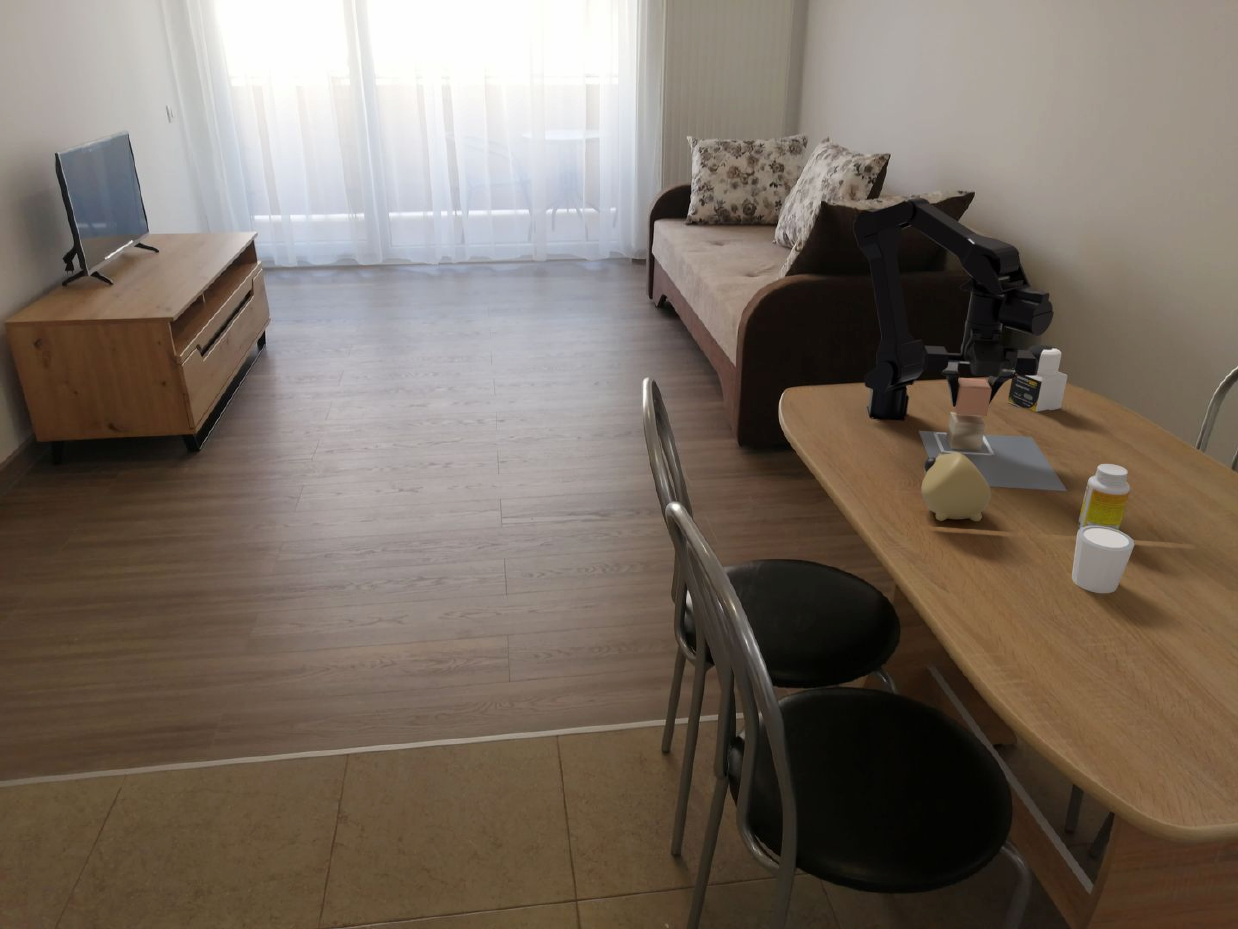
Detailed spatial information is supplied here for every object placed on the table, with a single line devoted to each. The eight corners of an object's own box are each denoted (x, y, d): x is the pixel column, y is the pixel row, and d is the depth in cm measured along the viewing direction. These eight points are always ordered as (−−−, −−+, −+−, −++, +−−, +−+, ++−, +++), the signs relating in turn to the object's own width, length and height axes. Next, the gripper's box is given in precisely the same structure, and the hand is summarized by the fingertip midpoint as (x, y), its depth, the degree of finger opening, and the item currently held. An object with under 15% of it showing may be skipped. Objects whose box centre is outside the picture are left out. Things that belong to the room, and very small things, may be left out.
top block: (956, 414, 163) (961, 387, 160) (951, 404, 167) (955, 377, 165) (986, 416, 162) (991, 389, 160) (980, 405, 166) (985, 379, 164)
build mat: (938, 486, 153) (939, 482, 153) (918, 433, 173) (918, 430, 172) (1066, 494, 151) (1067, 490, 150) (1031, 440, 170) (1031, 436, 170)
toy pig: (972, 498, 149) (983, 437, 145) (993, 535, 138) (1006, 471, 134) (909, 496, 150) (918, 435, 145) (925, 532, 139) (935, 468, 135)
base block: (951, 448, 165) (955, 422, 163) (946, 437, 170) (950, 411, 168) (980, 450, 165) (985, 424, 163) (974, 439, 169) (979, 413, 167)
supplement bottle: (1125, 540, 137) (1142, 477, 133) (1088, 540, 137) (1103, 477, 133) (1106, 521, 142) (1121, 460, 138) (1070, 522, 142) (1084, 461, 138)
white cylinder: (1119, 601, 123) (1131, 555, 120) (1062, 586, 126) (1073, 541, 123) (1125, 577, 128) (1137, 533, 125) (1070, 563, 131) (1081, 519, 128)
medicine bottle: (1006, 402, 188) (1017, 345, 182) (1032, 397, 190) (1044, 340, 185) (1034, 414, 182) (1046, 355, 177) (1061, 409, 184) (1074, 350, 179)
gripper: (935, 332, 151) (921, 421, 158) (1056, 337, 149) (1037, 427, 156) (924, 313, 161) (912, 397, 168) (1037, 317, 159) (1020, 403, 166)
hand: (969, 406), depth 164 cm, fingers closed on top block, 5 cm apart
